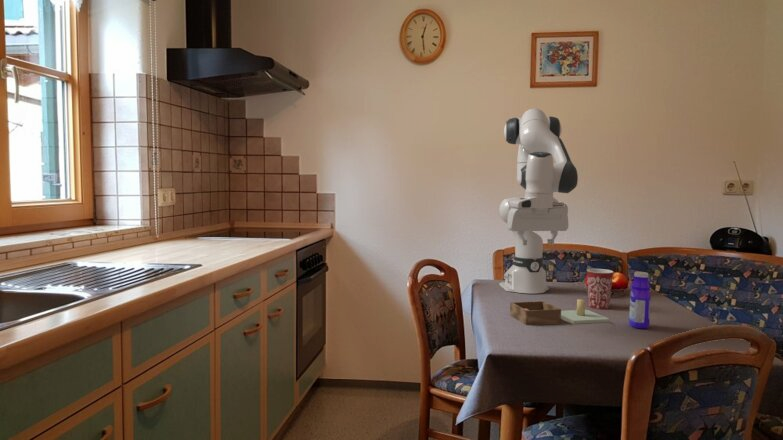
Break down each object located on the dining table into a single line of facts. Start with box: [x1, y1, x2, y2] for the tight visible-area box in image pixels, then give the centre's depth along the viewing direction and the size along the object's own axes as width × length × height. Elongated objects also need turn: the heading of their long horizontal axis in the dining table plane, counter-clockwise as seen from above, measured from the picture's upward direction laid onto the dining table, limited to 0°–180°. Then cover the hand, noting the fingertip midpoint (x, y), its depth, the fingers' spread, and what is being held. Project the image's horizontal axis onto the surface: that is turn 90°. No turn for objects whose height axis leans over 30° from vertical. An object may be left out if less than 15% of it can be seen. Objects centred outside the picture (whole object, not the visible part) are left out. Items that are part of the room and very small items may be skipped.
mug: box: [586, 268, 615, 310], centre depth 205 cm, size 13×9×14 cm
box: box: [509, 300, 562, 326], centre depth 182 cm, size 12×12×5 cm
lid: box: [561, 298, 611, 325], centre depth 185 cm, size 13×13×6 cm
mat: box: [561, 318, 613, 325], centre depth 185 cm, size 14×14×1 cm
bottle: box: [628, 271, 652, 329], centre depth 176 cm, size 7×6×17 cm
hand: (537, 244), depth 180 cm, fingers open, 8 cm apart
